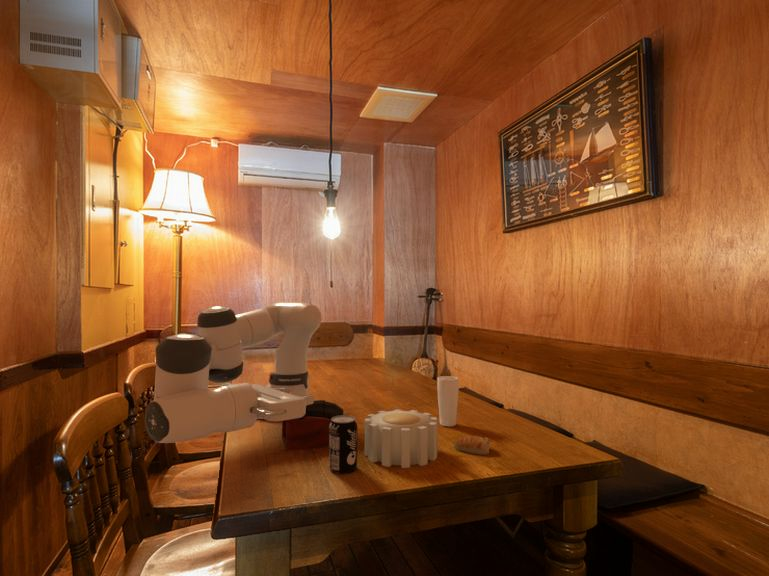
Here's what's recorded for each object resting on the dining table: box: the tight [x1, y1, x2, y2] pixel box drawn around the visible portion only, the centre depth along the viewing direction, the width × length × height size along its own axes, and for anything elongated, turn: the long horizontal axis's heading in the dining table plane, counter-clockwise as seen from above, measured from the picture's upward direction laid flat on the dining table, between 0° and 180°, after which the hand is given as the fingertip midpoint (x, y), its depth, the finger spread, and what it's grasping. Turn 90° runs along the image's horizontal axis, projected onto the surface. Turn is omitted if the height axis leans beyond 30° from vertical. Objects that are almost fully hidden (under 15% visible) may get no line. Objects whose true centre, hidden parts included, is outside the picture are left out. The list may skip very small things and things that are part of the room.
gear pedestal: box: [364, 409, 439, 469], centre depth 115 cm, size 19×19×9 cm
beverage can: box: [328, 414, 358, 474], centre depth 104 cm, size 7×7×12 cm
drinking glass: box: [436, 375, 460, 428], centre depth 140 cm, size 7×7×15 cm
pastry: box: [453, 436, 491, 456], centre depth 118 cm, size 9×7×4 cm
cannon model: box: [281, 399, 344, 452], centre depth 123 cm, size 13×30×15 cm, turn 110°
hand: (299, 395), depth 96 cm, fingers open, 8 cm apart
